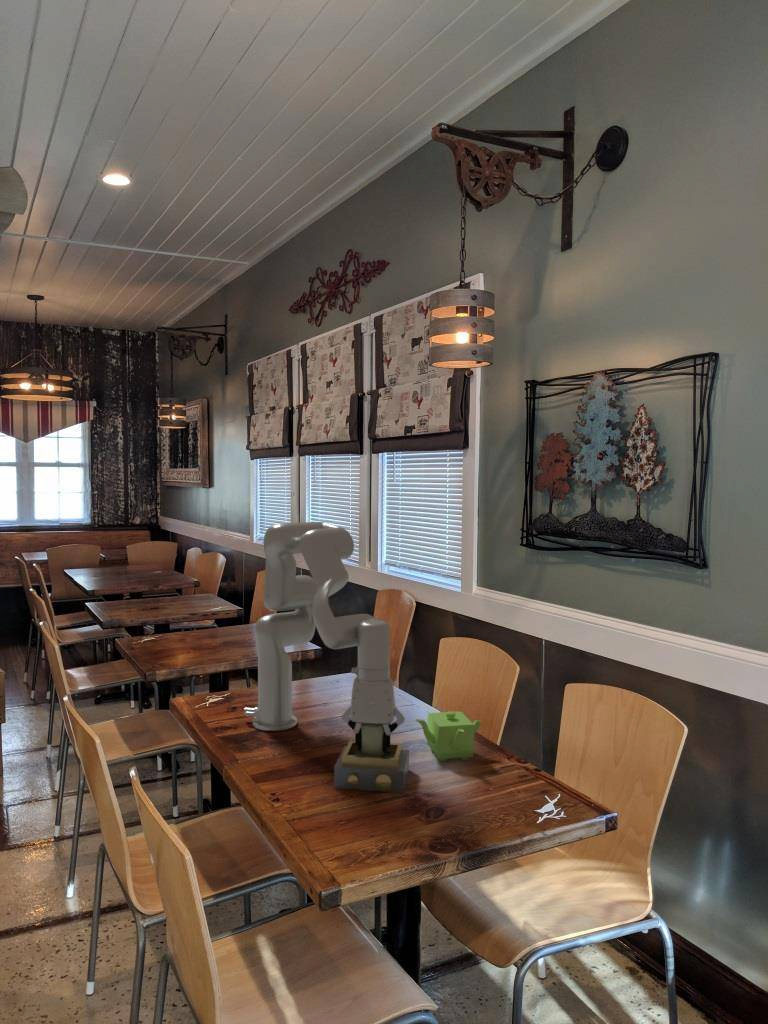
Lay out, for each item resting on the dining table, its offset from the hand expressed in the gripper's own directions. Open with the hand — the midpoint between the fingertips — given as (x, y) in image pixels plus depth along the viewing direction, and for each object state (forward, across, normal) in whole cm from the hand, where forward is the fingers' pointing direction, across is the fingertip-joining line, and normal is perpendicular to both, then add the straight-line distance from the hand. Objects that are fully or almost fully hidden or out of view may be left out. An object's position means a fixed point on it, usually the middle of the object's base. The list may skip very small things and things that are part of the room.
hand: (372, 748), depth 178 cm
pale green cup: (+1, 0, 0) cm, 1 cm away
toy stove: (+7, 0, 0) cm, 7 cm away
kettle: (+8, +17, +17) cm, 25 cm away
